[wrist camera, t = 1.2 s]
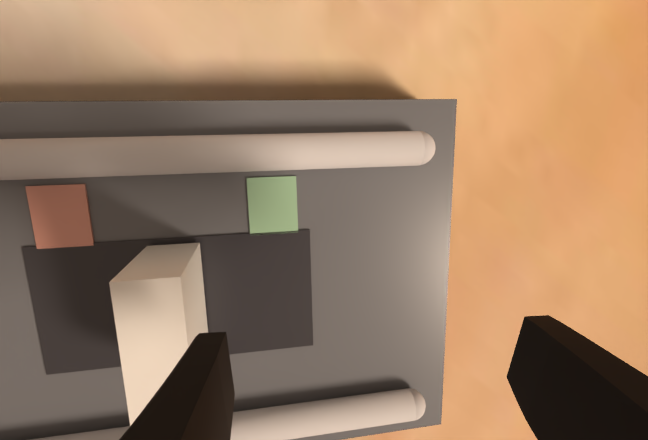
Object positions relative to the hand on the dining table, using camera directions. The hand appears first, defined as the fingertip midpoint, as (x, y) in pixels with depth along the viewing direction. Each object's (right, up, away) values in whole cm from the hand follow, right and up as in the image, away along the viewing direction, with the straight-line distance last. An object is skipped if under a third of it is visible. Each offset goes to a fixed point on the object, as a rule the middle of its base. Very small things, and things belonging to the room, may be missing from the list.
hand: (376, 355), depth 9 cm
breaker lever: (-7, 0, +6) cm, 10 cm away
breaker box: (-8, +1, +10) cm, 12 cm away
